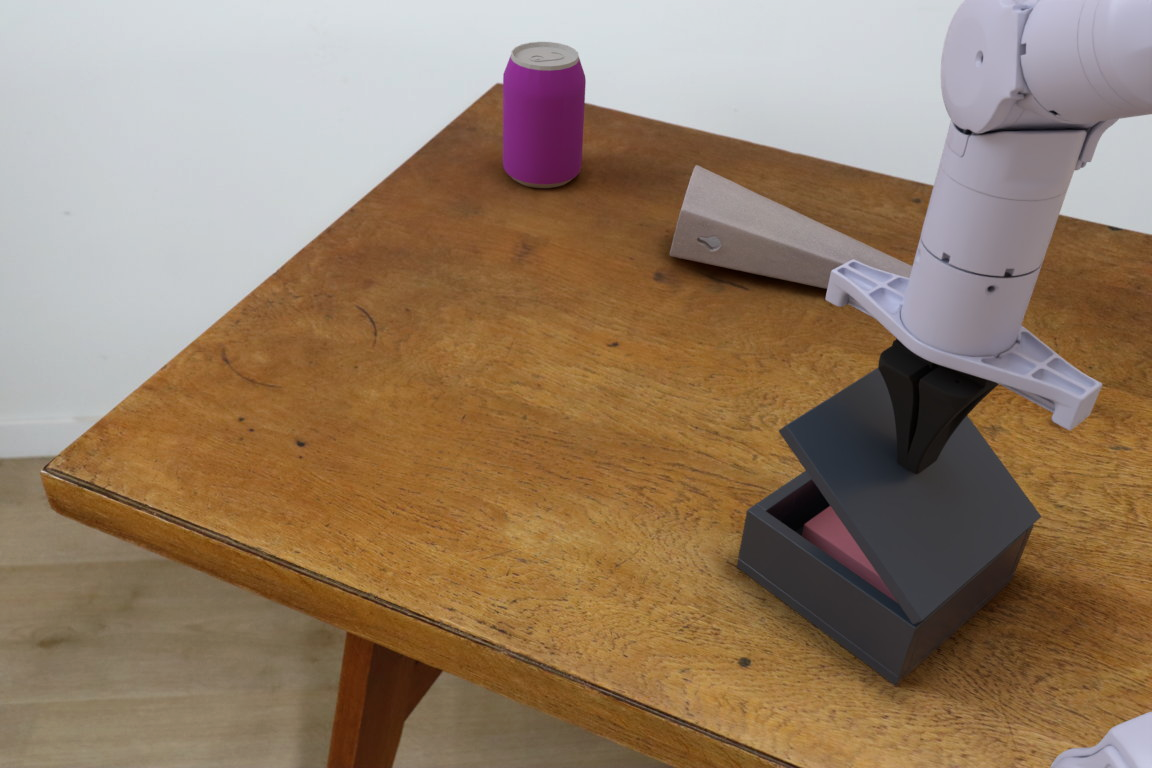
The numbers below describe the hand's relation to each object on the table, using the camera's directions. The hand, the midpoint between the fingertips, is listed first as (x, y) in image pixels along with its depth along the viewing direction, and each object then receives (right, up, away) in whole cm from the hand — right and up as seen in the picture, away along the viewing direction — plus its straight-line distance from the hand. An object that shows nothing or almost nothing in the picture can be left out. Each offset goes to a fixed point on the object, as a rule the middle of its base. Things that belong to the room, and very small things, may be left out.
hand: (916, 461), depth 61 cm
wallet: (-1, -7, +5) cm, 9 cm away
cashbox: (-1, -7, +6) cm, 9 cm away
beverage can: (-22, +25, +47) cm, 58 cm away
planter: (+2, +14, +34) cm, 37 cm away
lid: (0, -1, +1) cm, 1 cm away
